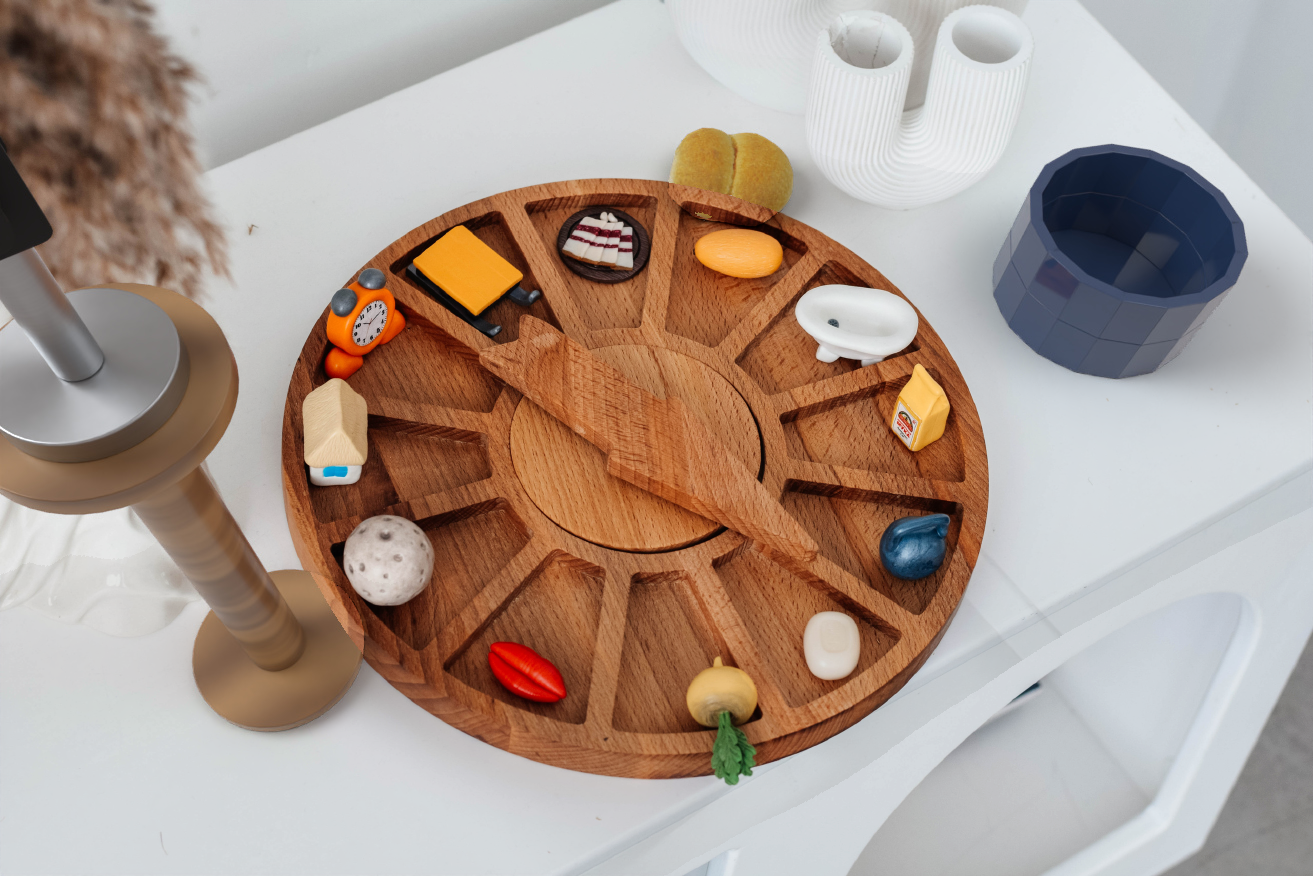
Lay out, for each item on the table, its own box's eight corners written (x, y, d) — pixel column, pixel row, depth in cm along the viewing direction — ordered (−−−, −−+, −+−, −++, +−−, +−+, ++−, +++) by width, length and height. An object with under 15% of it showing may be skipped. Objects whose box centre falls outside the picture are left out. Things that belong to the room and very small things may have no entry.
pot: (1227, 323, 75) (1291, 245, 68) (1094, 415, 70) (1148, 342, 63) (1082, 200, 80) (1128, 117, 73) (950, 278, 75) (986, 197, 68)
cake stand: (394, 670, 59) (275, 415, 37) (239, 766, 56) (6, 551, 34) (319, 546, 62) (169, 245, 40) (169, 630, 59) (-83, 354, 37)
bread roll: (786, 239, 76) (795, 199, 73) (661, 222, 77) (664, 181, 73) (794, 156, 81) (803, 115, 77) (675, 140, 81) (679, 98, 77)
